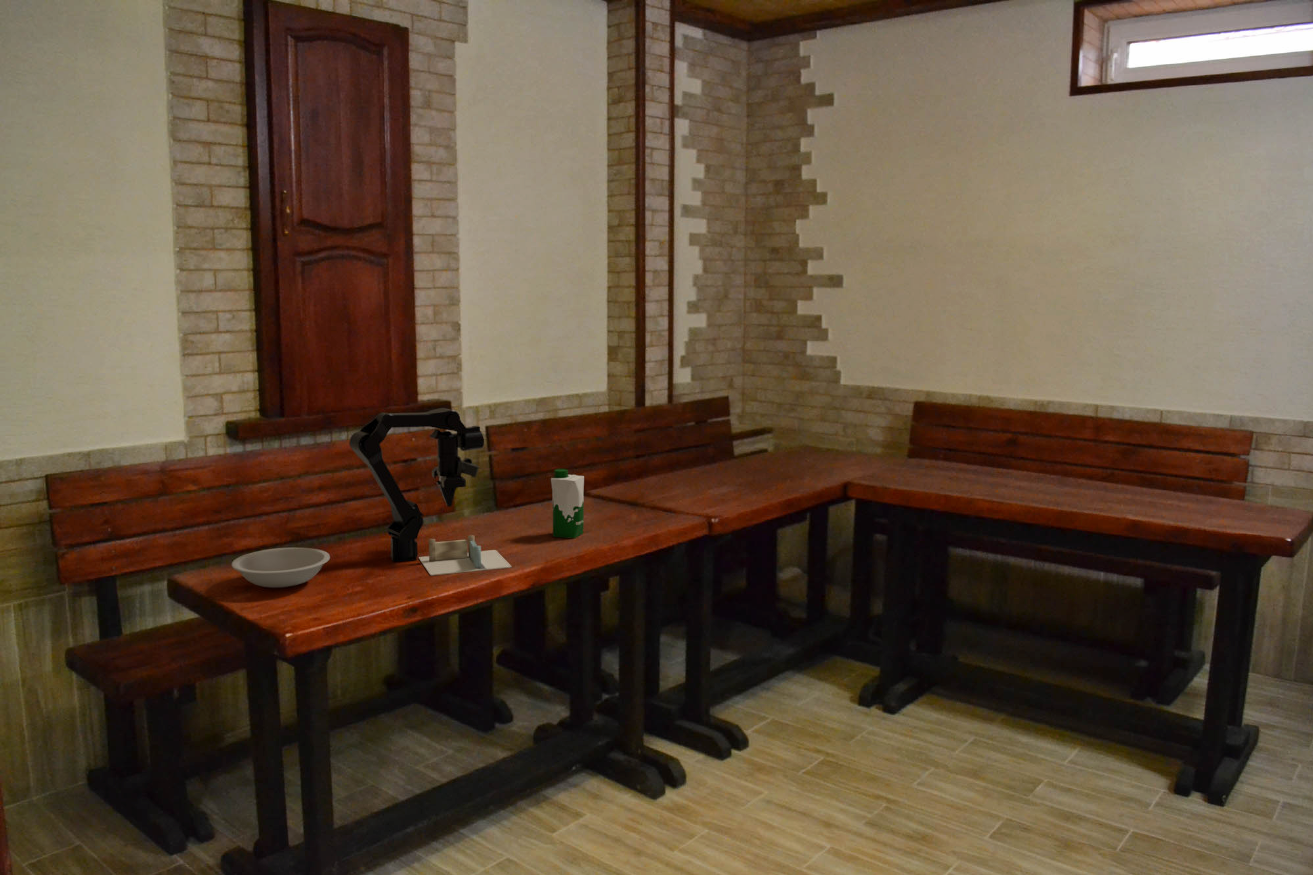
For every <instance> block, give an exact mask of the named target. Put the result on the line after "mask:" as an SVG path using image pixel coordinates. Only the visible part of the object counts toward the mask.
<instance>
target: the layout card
mask: <svg viewBox="0 0 1313 875" xmlns="http://www.w3.org/2000/svg"><path fill="white" fill-rule="evenodd" d="M418 559H419V561H420V563H421V564H422V565H423V567H424V568H425V570H426V571H427V572H428V574H429V576H431V577H432V576H443V575H452V574H463V573H471V572H481V571H490V570H501V569H511V568H512V565H511V564H510V563H509V562H508V561H507V560H506V559H505V558H504V557H503V556H502V555H501V554H500V553H499V551H498V550H496V549H490V550H481V567H474V563H473V561H472V559H471V557H469V554H468V558H457V559H447V560H437V561H429V555H427V556H426V555H425V556H419V557H418Z"/></svg>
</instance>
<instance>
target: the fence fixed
mask: <svg viewBox="0 0 1313 875" xmlns="http://www.w3.org/2000/svg"><path fill="white" fill-rule="evenodd" d="M475 540H476V539H475V535H473V534H471V535H468V536H467V539H457V540H447V541H436V539H435V538H429V539H428V556H429V561H437V560H447V559H457V558H468V554H469V557H470V541H475ZM475 542H476V541H475Z"/></svg>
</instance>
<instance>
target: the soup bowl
mask: <svg viewBox="0 0 1313 875" xmlns="http://www.w3.org/2000/svg"><path fill="white" fill-rule="evenodd" d="M330 559H331V556H330V553H328V552H326V551H325V550H322V549H318V548H317V549H316V548H313V547H312V548H310V547H280V548H278V547H277V548H269V549H262V550H259V551H253V552H251V553H245V554H243V555H241V556H239V557H237V558H235V559H234V560H233V561H232V562H231V567H232V568H233V569H234V570H235V571H236V572H239V573H240V574H241V576H242V577H243V578H245V580H246V581H248V582H249V583H252V584H253V585H256V586H259V587H264V588H287V587H294V586H297V585H300V584H304V583H306V582H308V581H309V580H311V579H313V577H315V576H316V575H317V574H318V573H319V571H321V569H322V568H323V565H325V563H328V561H330Z"/></svg>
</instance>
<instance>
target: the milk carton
mask: <svg viewBox="0 0 1313 875" xmlns="http://www.w3.org/2000/svg"><path fill="white" fill-rule="evenodd" d="M550 483H551V484H550V485H551V489H552V490H551V491H552V537H553V538H562V539H563V538H565V539H576V538H578V537H579V536H581V535H583V534H584V527H585V526H584V523H585V522H584V521H585V520H584V519H585V518H584V512H585V510H584V509H585V508H584V507H585V506H584V502H585V501H584V497H585V496H584V492H585V491H584V486H585V476H584V475H577V474H569V470H568V469H566V468H557V469H554V476H553V477H551V478H550Z"/></svg>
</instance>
